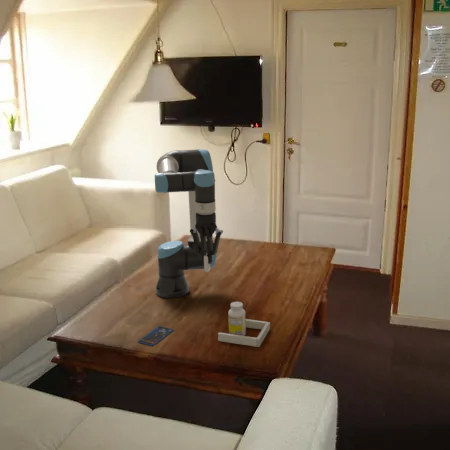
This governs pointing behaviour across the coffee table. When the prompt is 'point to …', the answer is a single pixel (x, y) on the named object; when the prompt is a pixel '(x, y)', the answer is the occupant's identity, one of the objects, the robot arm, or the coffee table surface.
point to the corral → (245, 339)
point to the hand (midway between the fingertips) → (207, 270)
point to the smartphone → (155, 336)
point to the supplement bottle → (237, 319)
